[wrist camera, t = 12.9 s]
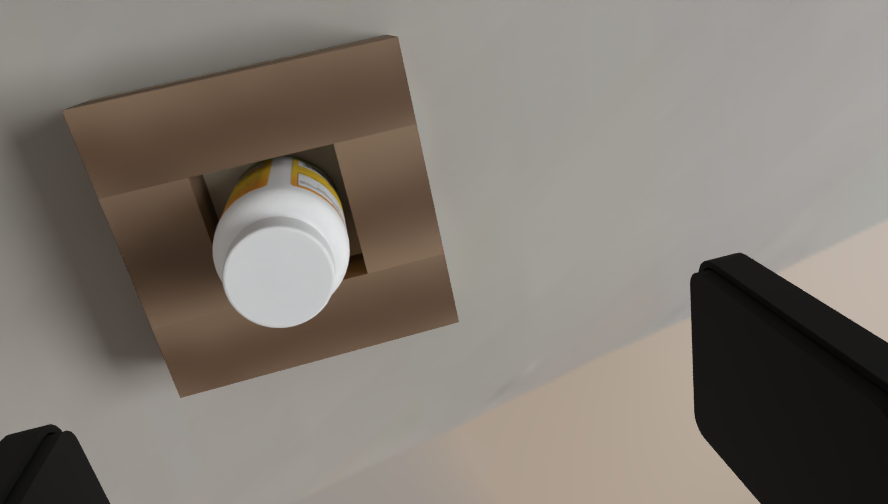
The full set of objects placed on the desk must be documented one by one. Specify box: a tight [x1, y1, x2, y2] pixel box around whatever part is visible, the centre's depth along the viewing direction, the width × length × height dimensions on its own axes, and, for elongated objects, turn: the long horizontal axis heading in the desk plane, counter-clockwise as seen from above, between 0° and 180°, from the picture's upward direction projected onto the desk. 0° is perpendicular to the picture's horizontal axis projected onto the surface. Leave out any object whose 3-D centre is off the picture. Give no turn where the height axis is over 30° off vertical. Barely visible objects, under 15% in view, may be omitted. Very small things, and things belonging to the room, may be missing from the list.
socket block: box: [62, 35, 459, 398], centre depth 31 cm, size 14×14×4 cm
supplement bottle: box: [213, 155, 350, 328], centre depth 28 cm, size 5×5×10 cm
